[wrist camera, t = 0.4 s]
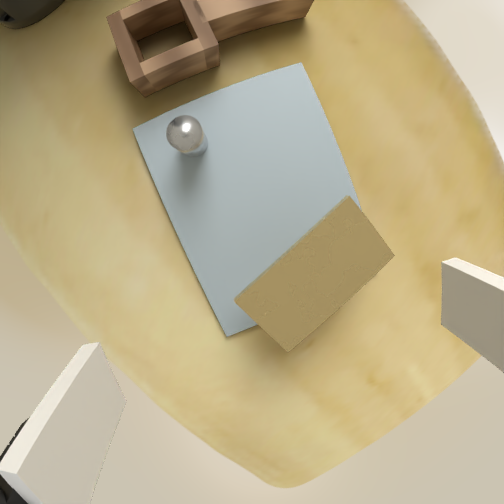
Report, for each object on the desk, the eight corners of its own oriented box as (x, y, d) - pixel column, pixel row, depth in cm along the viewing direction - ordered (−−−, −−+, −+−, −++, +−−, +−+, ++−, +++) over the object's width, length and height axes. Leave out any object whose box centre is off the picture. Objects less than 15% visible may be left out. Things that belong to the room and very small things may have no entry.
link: (144, 97, 32) (130, 82, 26) (121, 37, 30) (106, 17, 24) (315, 36, 31) (330, 14, 26) (284, -18, 29) (293, -44, 24)
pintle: (176, 137, 33) (160, 124, 25) (201, 126, 33) (194, 109, 25) (186, 162, 34) (174, 156, 25) (212, 150, 34) (207, 141, 25)
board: (133, 129, 32) (132, 128, 32) (300, 63, 32) (301, 62, 32) (226, 334, 38) (226, 336, 38) (377, 268, 38) (379, 269, 37)
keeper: (232, 270, 37) (234, 301, 27) (317, 191, 35) (349, 195, 26) (273, 311, 38) (287, 352, 28) (355, 236, 37) (394, 255, 27)
